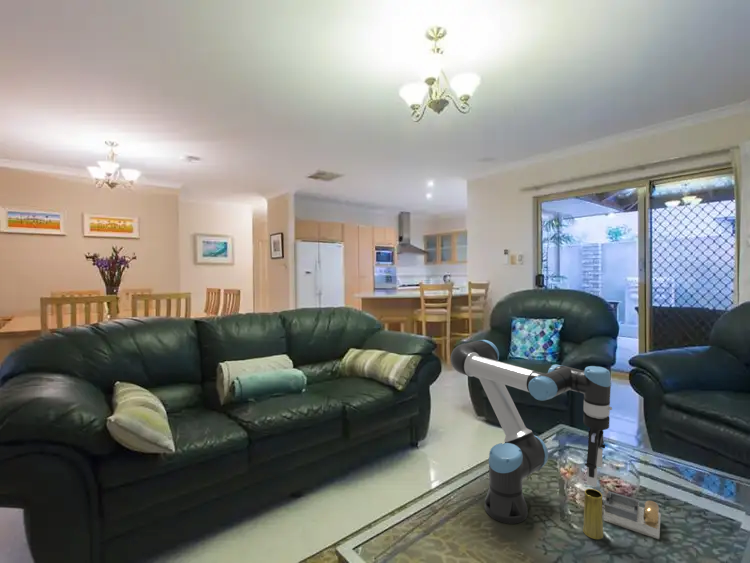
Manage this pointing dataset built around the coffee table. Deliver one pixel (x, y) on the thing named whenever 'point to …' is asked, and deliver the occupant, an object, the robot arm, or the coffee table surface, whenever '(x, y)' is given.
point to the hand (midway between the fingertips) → (594, 475)
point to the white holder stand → (632, 514)
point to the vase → (593, 514)
